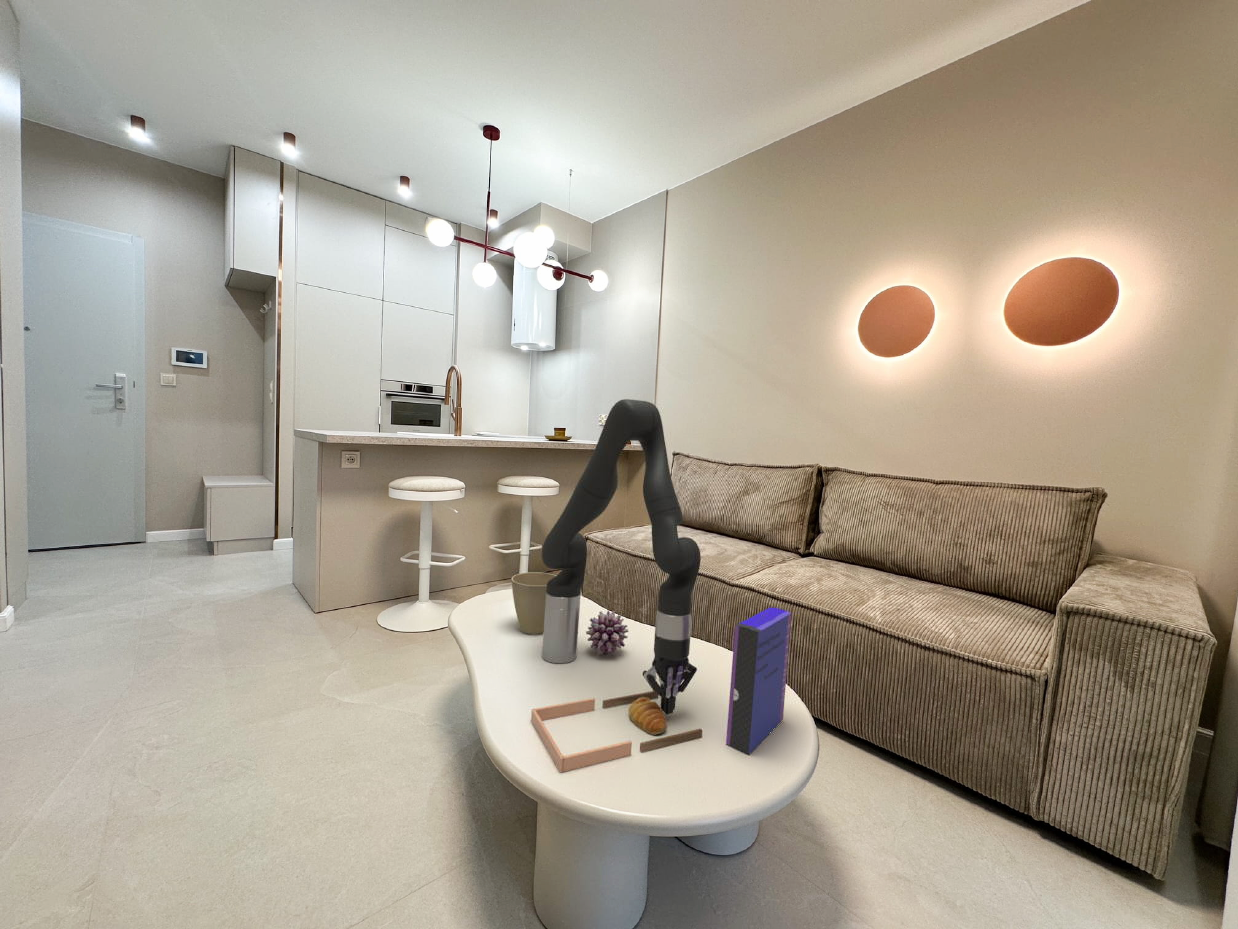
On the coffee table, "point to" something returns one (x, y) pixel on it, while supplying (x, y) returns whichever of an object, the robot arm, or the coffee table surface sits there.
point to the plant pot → (530, 600)
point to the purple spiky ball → (607, 632)
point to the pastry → (647, 716)
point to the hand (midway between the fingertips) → (667, 712)
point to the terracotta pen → (578, 758)
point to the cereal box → (758, 678)
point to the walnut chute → (656, 742)
